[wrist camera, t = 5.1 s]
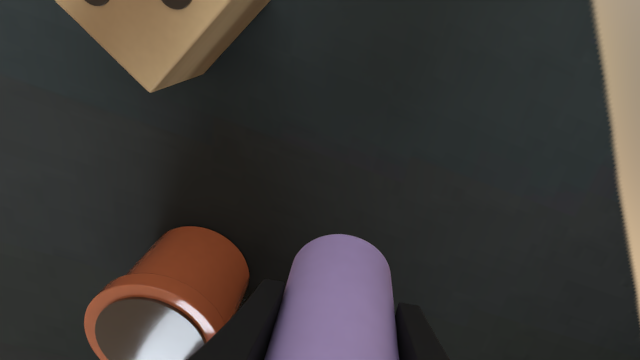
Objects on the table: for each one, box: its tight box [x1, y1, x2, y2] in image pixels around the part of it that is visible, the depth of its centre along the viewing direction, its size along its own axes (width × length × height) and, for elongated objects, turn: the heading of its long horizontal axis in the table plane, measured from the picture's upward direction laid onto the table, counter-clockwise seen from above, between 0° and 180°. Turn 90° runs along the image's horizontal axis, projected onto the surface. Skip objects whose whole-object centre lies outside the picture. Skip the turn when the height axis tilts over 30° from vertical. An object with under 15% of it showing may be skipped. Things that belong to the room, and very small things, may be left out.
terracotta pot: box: [84, 226, 249, 360], centre depth 19 cm, size 6×6×5 cm
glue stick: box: [264, 234, 399, 360], centre depth 10 cm, size 4×4×7 cm
